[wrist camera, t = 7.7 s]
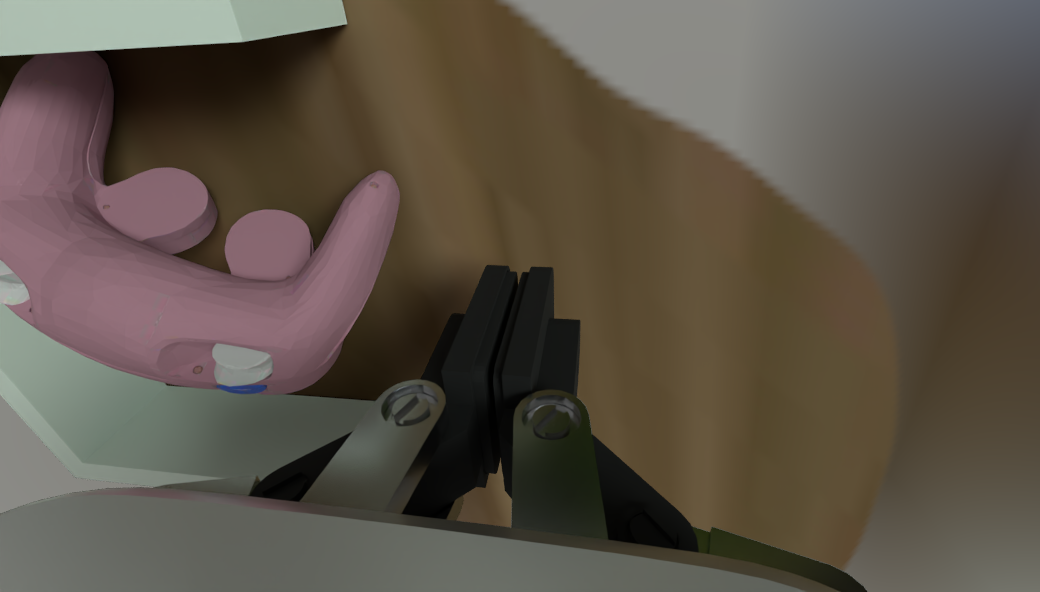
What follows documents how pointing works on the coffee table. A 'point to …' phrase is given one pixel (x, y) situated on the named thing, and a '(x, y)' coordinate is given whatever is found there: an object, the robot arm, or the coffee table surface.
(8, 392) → the box
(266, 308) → the video game controller
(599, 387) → the coffee table surface
